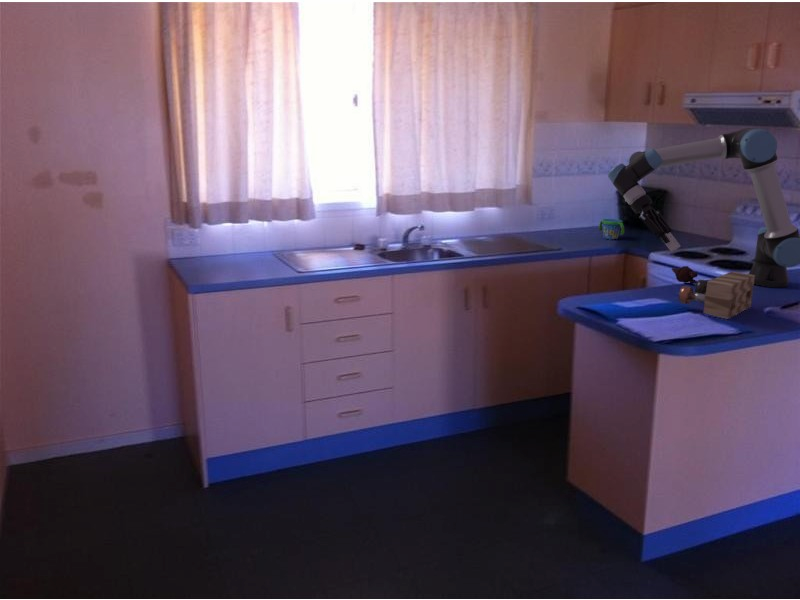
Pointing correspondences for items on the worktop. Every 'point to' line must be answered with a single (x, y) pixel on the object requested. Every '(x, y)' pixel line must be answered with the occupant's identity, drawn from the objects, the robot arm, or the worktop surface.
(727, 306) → the block
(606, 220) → the snack cup
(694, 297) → the terracotta knob
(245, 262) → the worktop surface
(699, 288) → the charcoal knob
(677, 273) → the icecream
